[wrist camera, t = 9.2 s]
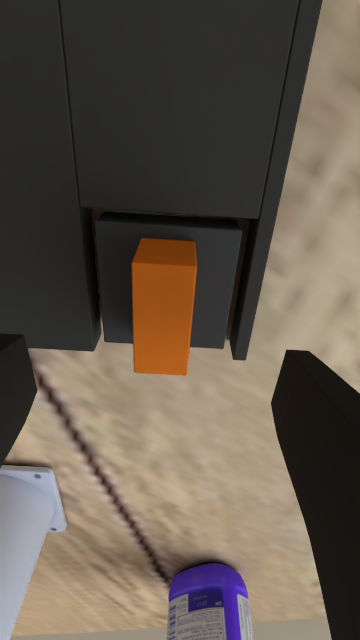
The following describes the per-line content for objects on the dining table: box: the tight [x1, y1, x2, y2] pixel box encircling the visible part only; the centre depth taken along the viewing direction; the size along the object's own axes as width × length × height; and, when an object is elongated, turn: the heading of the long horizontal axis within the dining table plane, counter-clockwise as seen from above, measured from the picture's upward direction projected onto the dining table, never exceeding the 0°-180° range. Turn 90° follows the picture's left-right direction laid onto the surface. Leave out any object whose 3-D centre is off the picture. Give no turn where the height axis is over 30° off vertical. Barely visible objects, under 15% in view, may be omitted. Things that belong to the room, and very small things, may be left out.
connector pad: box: [95, 212, 242, 375], centre depth 12 cm, size 5×5×4 cm
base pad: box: [0, 0, 322, 360], centre depth 11 cm, size 16×14×2 cm
